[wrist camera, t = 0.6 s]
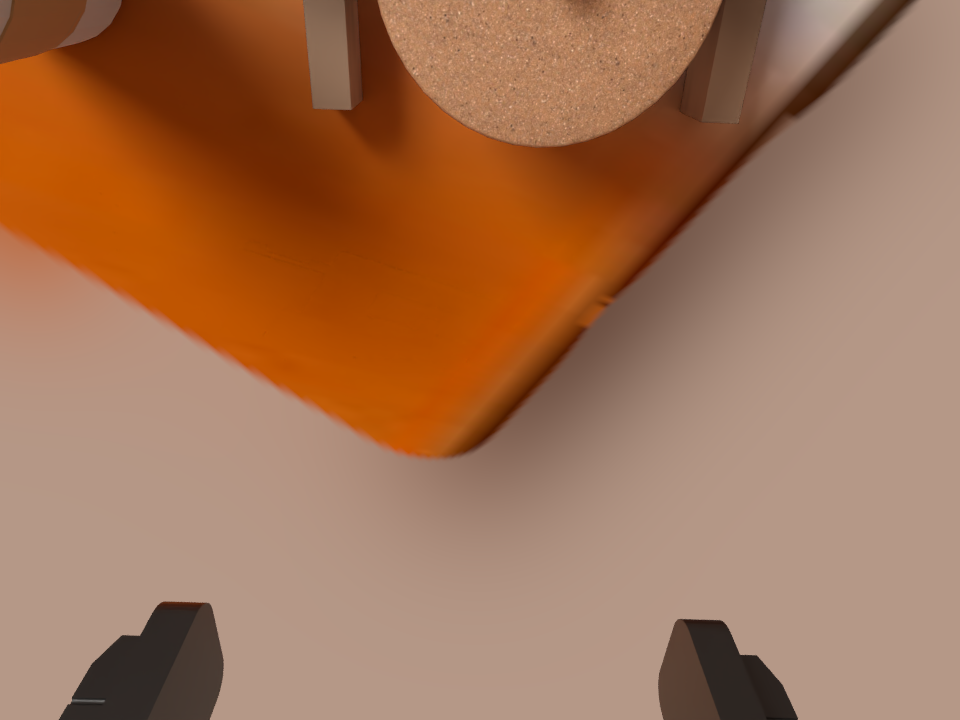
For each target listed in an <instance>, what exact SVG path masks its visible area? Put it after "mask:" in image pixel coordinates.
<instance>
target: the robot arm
mask: <svg viewBox="0 0 960 720" xmlns="http://www.w3.org/2000/svg"><path fill="white" fill-rule="evenodd" d="M222 678H223V655H222V651H221V646H220V642H219V638H218V633H217V628H216V623H215V619H214V614H213V610H212V607H211V605H210V604H209V603H196V602H194V603H193V602H162V603H160V604H159V605H158V606H157V607H156V608H155V610H154V612H153V613H152V615H151V617H150V619H149V620H148V622H147V624H146V626H145V628H144V630H143V632H142V633H141V635H140V636H126V635H122V636H121V637H120V638H119V639H118V640H117V641H116V642H114V643H113V644H112V645H111V646H110V647H109V648H108V649H107V650H106V651H105V652H104V653H103V654H102V655H101V656H100V657H99V658H98V659H97V660H95V662H93V663H92V665H91V667H90V668H89V670H88V671H87V673H86V675H85V677H84V678H83V680H82V682H81V683H80V685H79V687H78V688H77V690H76V692H75V693H74V695H73V697H72V702H71V704H70V705H69V704H68V705H67V707H66V709H65V710H64V712H63V714H62V715H61V717H60V719H59V720H210V717H211V714H212V712H213V709H214V706H215V704H216V701H217V698H218V695H219V692H220V688H221V683H222ZM658 685H659V686H658V689H659V700H660V707H661V711H662V715H663V719H664V720H798V718H797V715H796V713H795V711H794V709H793V707H792V705H791V702H790V700H789V698H788V696H787V694H786V692H785V689H784V687H783V685H782V684H781V683H780V681H779V680H778V679H777V678H776V677H775V676H774V675H773V674H772V672H771V671H770V670H769V669H768V668H767V667H766V665H765V664H764V663H763V662H762V661H761V660H760V659H759V657H758V656H755V655H740V654H739V652H738V649H737V647H736V644H735V642H734V640H733V637H732V635H731V633H730V631H729V629H728V627H727V625H726V624H725V623H724V622H723V621H720V620H691V619H678V620H677V621H676V622H675V625H674V628H673V631H672V634H671V637H670V641H669V643H668V647H667V650H666V653H665V656H664V660H663V663H662V666H661V669H660V673H659V682H658Z"/></svg>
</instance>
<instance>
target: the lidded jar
mask: <svg viewBox="0 0 960 720" xmlns="http://www.w3.org/2000/svg"><path fill="white" fill-rule="evenodd" d="M721 3H722V0H378V4H379V8H380V13H381V16H382V19H383V21H384V24H385V27H386V29H387V32H388V34H389V37H390V39H391V42H392V44H393V46H394V48H395V50H396V52H397V53H398V55H399V57H400V59H401V60H402V62H403V64H404V66H405V68H406V69H407V71H408V72H409V73H410V75H411V76H412V77H413V79H414V80H415V81H416V83H417V84H418V85H419V86H420V88H421V89H422V90H423V92H424V93H425V94H426V95H427V96H428V97H429V98H430V99H431V100H432V101H433V102H434V103H436V104H437V105H438V106H439V107H440V108H441V109H442V110H443V111H444V112H445V113H447V114H448V115H450V116H451V117H452V118H454V119H455V120H457V121H458V122H460V123H461V124H462V125H464V126H465V127H467V128H469V129H472V130H474V131H476V132H478V133H480V134H482V135H484V136H486V137H488V138H491V139H495V140H498V141H502V142H505V143H508V144H512V145H519V146H528V147H536V148H539V147H562V146H567V145H572V144H576V143H581V142H586V141H589V140H592V139H594V138H597V137H600V136H602V135H605V134H607V133H610V132H612V131H614V130H616V129H618V128H619V127H621V126H623V125H625V124H626V123H628V122H630V121H632V120H634V119H635V118H636V117H638V116H639V115H640V114H642V113H643V112H644V111H645V110H647V109H648V108H649V107H651V106H652V105H653V104H655V103H656V102H657V101H658V100H659V99H660V98H661V97H662V96H663V95H664V94H665V93H666V92H667V91H668V90H669V89H670V88H671V87H672V86H673V85H674V84H675V83H676V82H677V80H678V79H679V78H680V76H681V75H682V74H683V72H684V71H685V70H686V68H687V67H688V66H689V64H690V63H691V62H692V60H693V59H694V58H695V56H696V54H697V53H698V51H699V49H700V47H701V46H702V44H703V42H704V40H705V38H706V37H707V35H708V33H709V31H710V29H711V27H712V25H713V22H714V20H715V17H716V15H717V12H718V10H719V8H720V5H721Z"/></svg>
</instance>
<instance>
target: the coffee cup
mask: <svg viewBox="0 0 960 720" xmlns="http://www.w3.org/2000/svg"><path fill="white" fill-rule="evenodd" d="M121 2H122V0H0V64H2V63H6V62H10V61H14V60H18V59H23V58H27V57H31V56H35V55H38V54H40V53H43V52H46V51H48V50H51V49H55V48H60V47H64V46H68V45H73V44H77V43H80V42H83V41H86V40H88V39H91V38H93V37H96V36H97V35H99V34H100V33H101V32H102V31H103V30H104V29H105V28H107V27H108V26H109V25H110V24H111V23H112V21H113V19H114V17H115V15H116V14H117V12H118V10H119V8H120V6H121Z"/></svg>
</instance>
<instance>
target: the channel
mask: <svg viewBox="0 0 960 720" xmlns="http://www.w3.org/2000/svg"><path fill="white" fill-rule="evenodd" d="M303 5H304V16H305V27H306V37H307V48H308V59H309V70H310V81H311V92H312V102H313V109H336V110H352V109H353V108H354V107H355V106H357V105H358V104H359V103H360V102H361V101H362V100H363V94H362V76H361V58H360V40H359V21H358V3H357V0H303ZM765 5H766V0H722V3H721V5H720V8H719V10H718V12H717V15H716V17H715V20H714V22H713V25H712V27H711V29H710V31H709V33H708V35H707V37H706V38H705V40H704V42H703V44H702V46H701V47H700V49H699V51H698V53H697V54H696V56H695V58H694V59H693V60H692V62H691V63H690V64H689V66H688V68H687V74H686V79H685V85H684V90H683V96H682V101H681V107H680V112H682V113H684V114H686V115H688V116H690V117H692V118H694V119H696V120H698V121H700V122H706V123H735V124H738V123H739V119H740V114H741V110H742V105H743V101H744V97H745V92H746V88H747V84H748V79H749V75H750V70H751V66H752V62H753V57H754V53H755V48H756V44H757V40H758V35H759V31H760V27H761V22H762V18H763V13H764V9H765Z"/></svg>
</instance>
